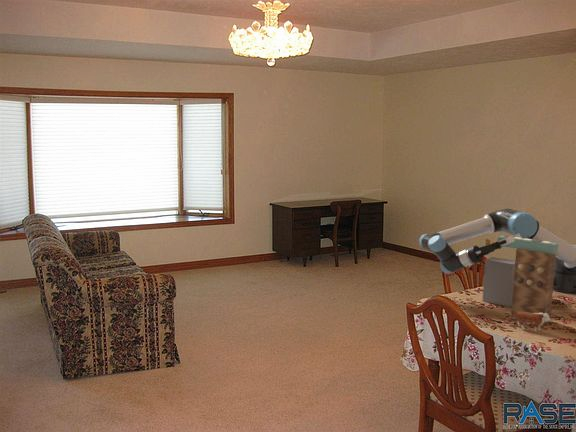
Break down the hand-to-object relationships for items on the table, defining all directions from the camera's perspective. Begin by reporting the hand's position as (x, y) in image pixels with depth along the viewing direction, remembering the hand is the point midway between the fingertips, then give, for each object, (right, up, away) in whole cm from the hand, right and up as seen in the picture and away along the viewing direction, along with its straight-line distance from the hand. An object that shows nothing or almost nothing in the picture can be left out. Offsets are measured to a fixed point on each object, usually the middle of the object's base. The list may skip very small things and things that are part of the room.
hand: (516, 237), depth 265 cm
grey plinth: (+1, -31, +24) cm, 39 cm away
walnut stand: (+6, -35, -1) cm, 36 cm away
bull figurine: (+1, -37, -15) cm, 40 cm away
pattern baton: (+3, -5, -2) cm, 6 cm away
